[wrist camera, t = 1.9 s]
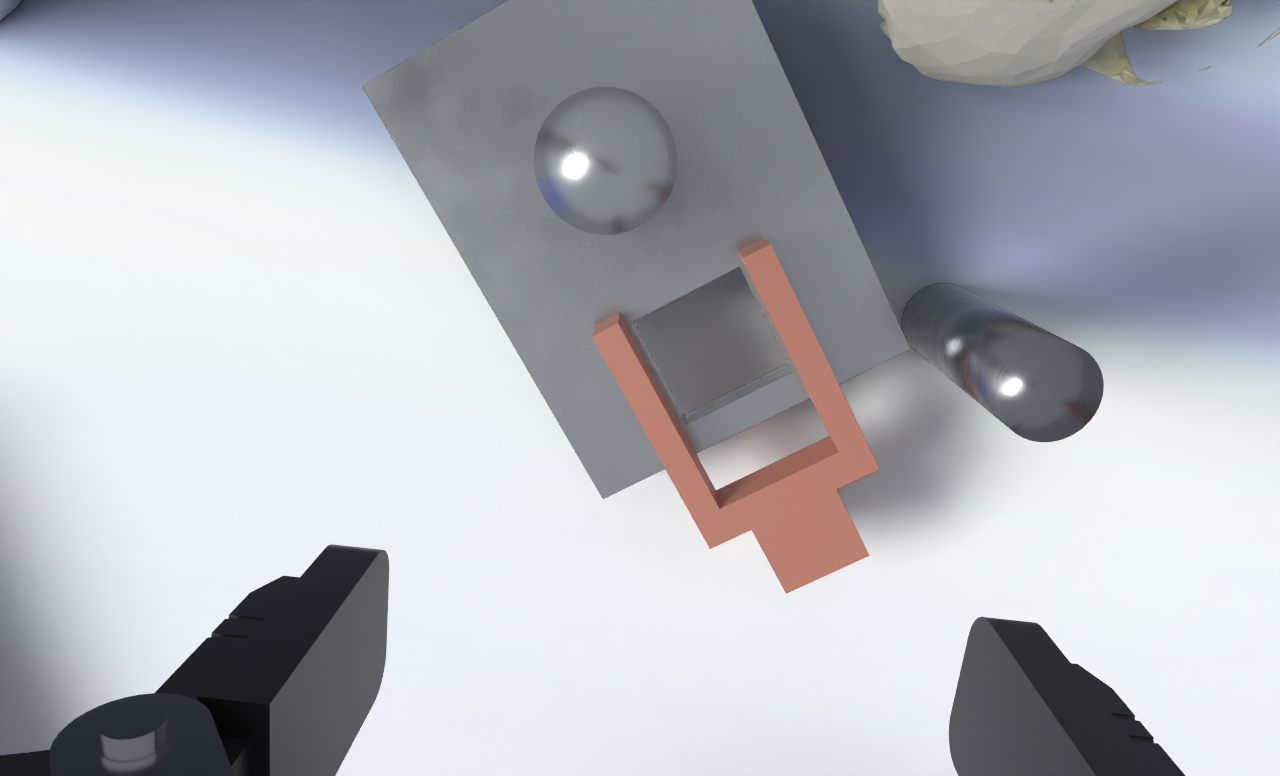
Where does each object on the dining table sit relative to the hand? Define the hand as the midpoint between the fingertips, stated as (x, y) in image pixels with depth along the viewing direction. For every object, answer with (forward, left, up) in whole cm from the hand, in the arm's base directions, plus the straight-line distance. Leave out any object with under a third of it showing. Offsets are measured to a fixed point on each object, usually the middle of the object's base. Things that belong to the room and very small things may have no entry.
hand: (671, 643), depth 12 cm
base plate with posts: (-3, +1, -31) cm, 31 cm away
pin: (+8, +11, -31) cm, 34 cm away
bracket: (+7, +1, -31) cm, 32 cm away
